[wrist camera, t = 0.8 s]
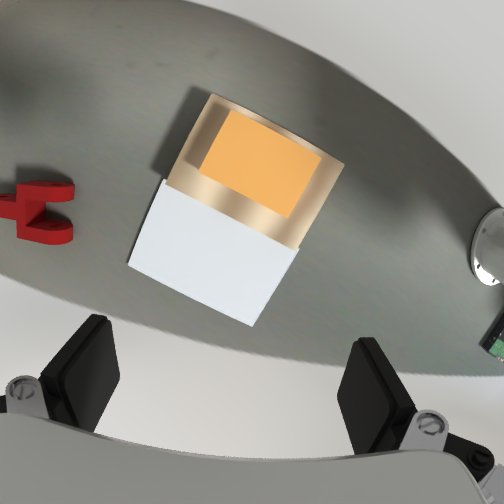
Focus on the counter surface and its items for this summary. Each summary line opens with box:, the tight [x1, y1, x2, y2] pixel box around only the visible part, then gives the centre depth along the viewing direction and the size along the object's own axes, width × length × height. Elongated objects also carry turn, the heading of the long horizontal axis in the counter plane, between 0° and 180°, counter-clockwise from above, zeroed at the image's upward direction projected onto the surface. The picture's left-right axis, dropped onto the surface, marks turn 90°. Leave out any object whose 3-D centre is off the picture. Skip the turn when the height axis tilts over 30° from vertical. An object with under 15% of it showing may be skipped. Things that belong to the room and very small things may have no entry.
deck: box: [165, 93, 345, 251], centre depth 32 cm, size 16×11×3 cm
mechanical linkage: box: [0, 180, 75, 245], centre depth 32 cm, size 16×7×5 cm, turn 80°
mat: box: [128, 179, 299, 326], centre depth 37 cm, size 18×12×1 cm, turn 62°
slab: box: [198, 109, 322, 219], centre depth 30 cm, size 10×7×2 cm
